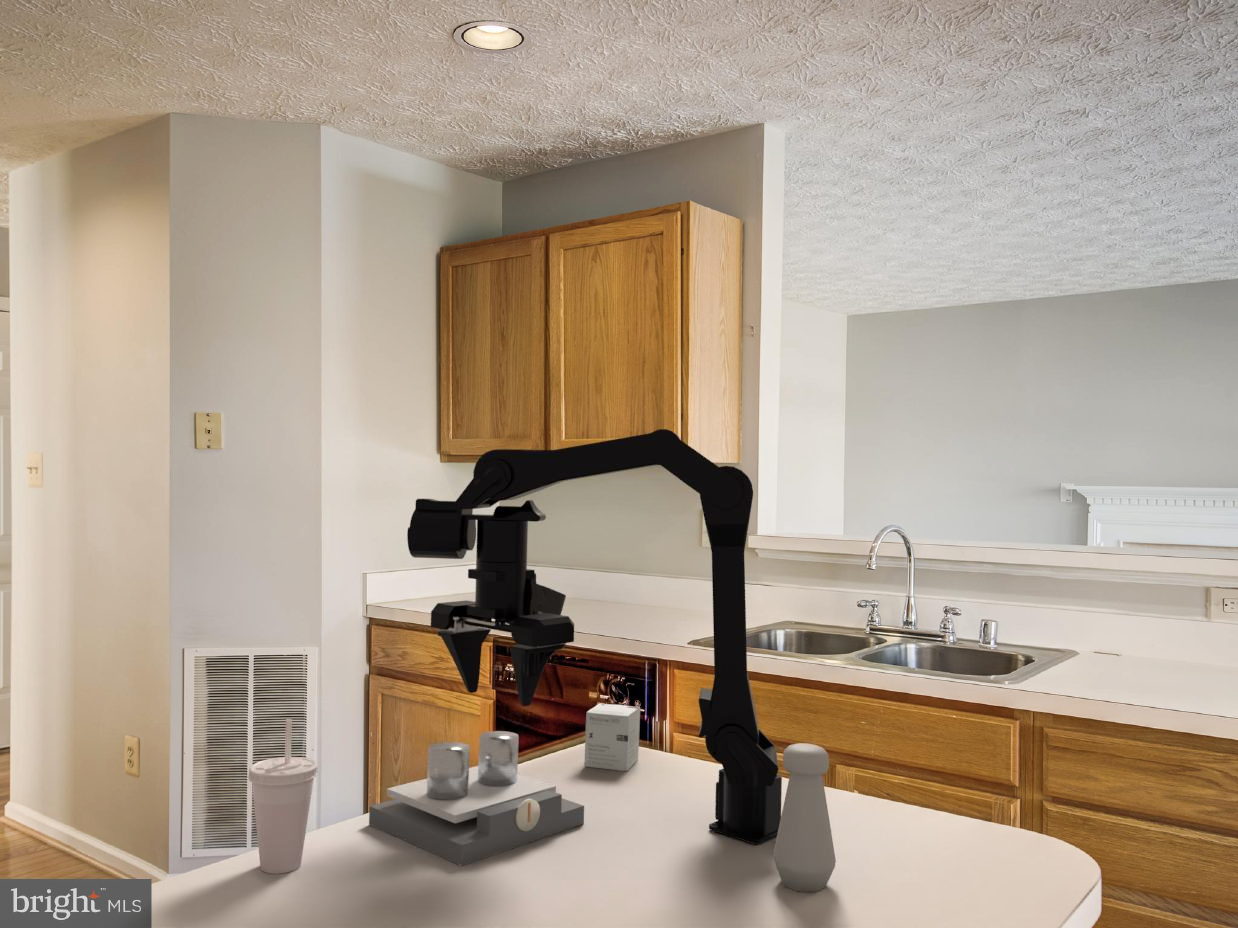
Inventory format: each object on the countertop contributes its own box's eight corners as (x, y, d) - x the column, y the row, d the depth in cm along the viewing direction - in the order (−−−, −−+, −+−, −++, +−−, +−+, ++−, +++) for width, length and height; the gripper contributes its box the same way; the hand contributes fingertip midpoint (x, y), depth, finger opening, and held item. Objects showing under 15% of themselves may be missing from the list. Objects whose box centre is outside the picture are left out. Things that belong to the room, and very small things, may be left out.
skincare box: (583, 767, 131) (584, 711, 131) (597, 755, 137) (598, 701, 137) (627, 772, 130) (629, 715, 130) (639, 759, 136) (640, 705, 136)
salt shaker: (840, 897, 92) (842, 755, 92) (777, 895, 92) (780, 753, 92) (828, 872, 97) (830, 739, 98) (769, 870, 98) (771, 737, 98)
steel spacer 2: (525, 780, 112) (526, 736, 112) (495, 788, 109) (497, 742, 109) (499, 772, 115) (500, 728, 115) (469, 779, 112) (471, 735, 112)
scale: (586, 824, 109) (587, 782, 109) (463, 866, 97) (464, 819, 97) (490, 790, 120) (491, 752, 121) (369, 824, 108) (370, 781, 108)
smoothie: (329, 860, 98) (333, 717, 98) (282, 884, 92) (286, 732, 92) (279, 849, 100) (283, 710, 101) (230, 871, 95) (234, 723, 95)
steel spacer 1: (474, 796, 106) (476, 749, 106) (435, 801, 104) (437, 753, 104) (458, 785, 110) (460, 740, 110) (420, 790, 108) (422, 743, 108)
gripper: (610, 563, 112) (607, 702, 112) (502, 552, 125) (499, 677, 125) (537, 568, 104) (534, 718, 104) (429, 556, 117) (426, 689, 116)
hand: (498, 698), depth 112 cm, fingers open, 9 cm apart
